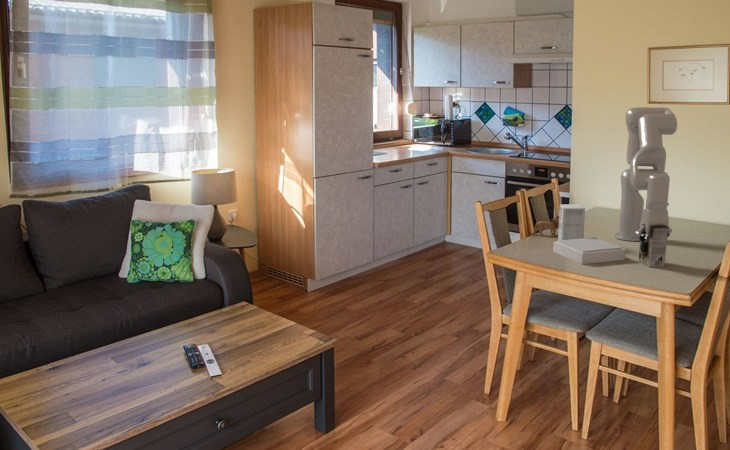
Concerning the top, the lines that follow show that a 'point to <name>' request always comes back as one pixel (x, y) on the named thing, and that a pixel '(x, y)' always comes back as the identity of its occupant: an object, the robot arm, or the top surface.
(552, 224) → the lion figurine
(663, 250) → the coffee box
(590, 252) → the square tray
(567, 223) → the supplement box
